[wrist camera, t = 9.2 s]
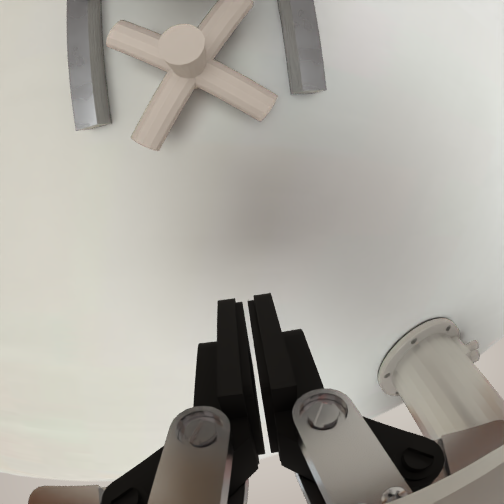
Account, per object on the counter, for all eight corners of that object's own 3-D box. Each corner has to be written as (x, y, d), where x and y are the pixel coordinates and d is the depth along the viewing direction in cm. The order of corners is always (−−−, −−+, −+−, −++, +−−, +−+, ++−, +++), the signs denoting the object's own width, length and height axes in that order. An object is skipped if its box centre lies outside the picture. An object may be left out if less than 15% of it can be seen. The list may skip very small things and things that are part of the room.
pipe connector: (291, 56, 18) (350, 19, 9) (219, 169, 21) (226, 208, 12) (173, -4, 15) (151, -74, 6) (101, 109, 18) (29, 110, 9)
